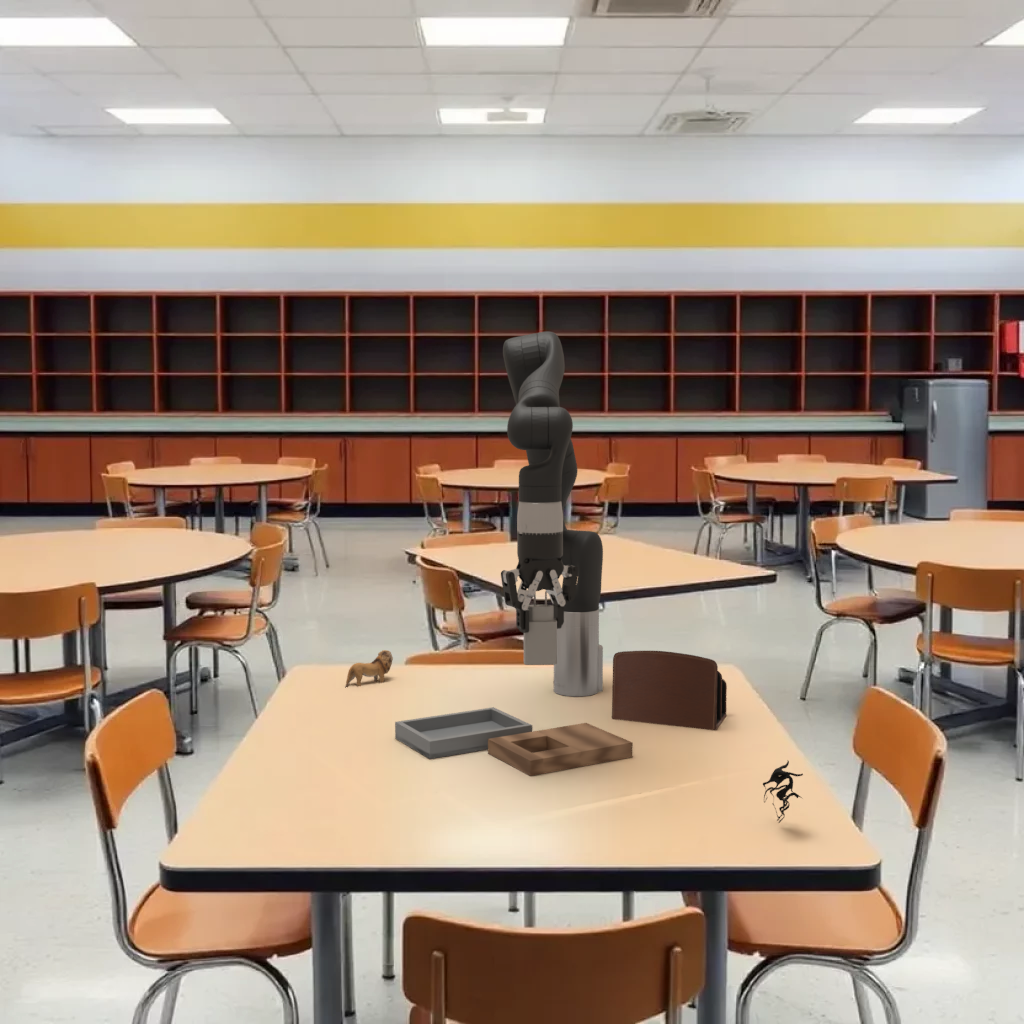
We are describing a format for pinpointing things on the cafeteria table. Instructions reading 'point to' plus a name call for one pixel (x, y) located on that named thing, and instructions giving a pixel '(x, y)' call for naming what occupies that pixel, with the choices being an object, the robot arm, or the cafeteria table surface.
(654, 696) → the letter holder
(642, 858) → the cafeteria table surface
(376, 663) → the lion figurine
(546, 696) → the cafeteria table surface
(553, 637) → the power adapter
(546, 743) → the dock board
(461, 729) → the tray
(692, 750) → the cafeteria table surface
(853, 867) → the cafeteria table surface
